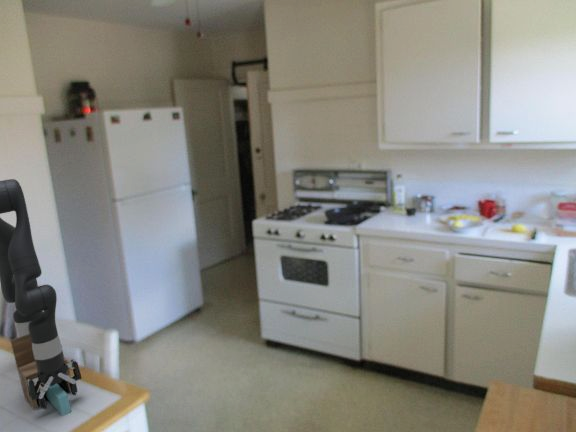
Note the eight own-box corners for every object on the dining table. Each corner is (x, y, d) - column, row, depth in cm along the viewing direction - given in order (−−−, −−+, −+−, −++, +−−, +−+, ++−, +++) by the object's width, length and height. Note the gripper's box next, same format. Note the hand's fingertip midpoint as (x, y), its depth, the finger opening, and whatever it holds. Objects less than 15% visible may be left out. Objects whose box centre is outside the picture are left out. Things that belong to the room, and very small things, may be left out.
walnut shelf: (24, 398, 153) (10, 340, 148) (63, 381, 161) (51, 325, 156) (33, 409, 147) (19, 349, 142) (74, 391, 155) (61, 333, 150)
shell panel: (46, 398, 152) (42, 381, 151) (55, 394, 154) (51, 377, 153) (62, 416, 142) (58, 398, 141) (71, 412, 144) (67, 394, 143)
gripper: (68, 338, 150) (78, 385, 154) (18, 358, 140) (30, 407, 144) (77, 346, 144) (87, 394, 148) (25, 366, 135) (38, 417, 139)
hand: (59, 400), depth 146 cm, fingers open, 8 cm apart
